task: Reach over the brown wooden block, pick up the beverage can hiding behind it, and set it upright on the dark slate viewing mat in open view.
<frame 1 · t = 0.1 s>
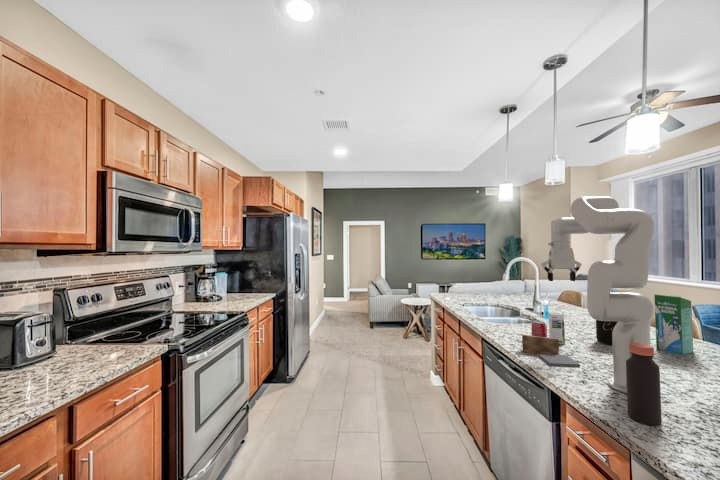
hand: (561, 280, 148), 31 cm above the worktop, tool pointing down, fingers open, 9 cm apart
syrup box: (557, 342, 154), on the worktop
bottle: (644, 420, 84), on the worktop
brown wooden block: (540, 352, 139), on the worktop
coffee jar: (610, 343, 152), on the worktop
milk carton: (674, 350, 140), on the worktop
beverage can: (539, 348, 146), on the worktop
viewing mat: (558, 361, 128), on the worktop
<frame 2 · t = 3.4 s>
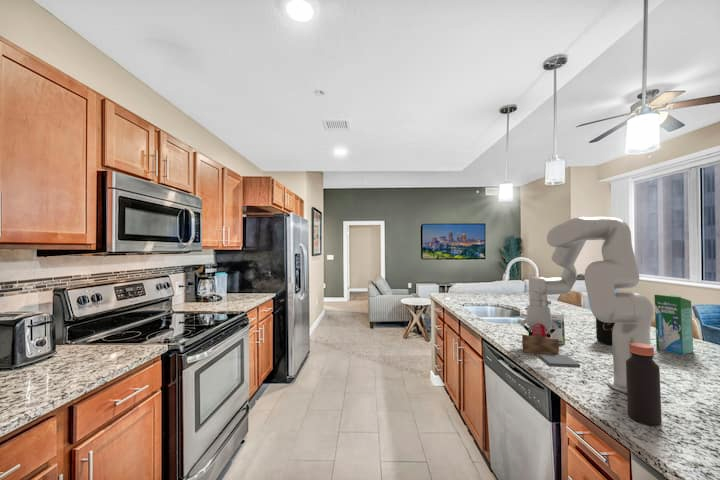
hand: (539, 341, 146), 3 cm above the worktop, tool pointing down, fingers closed on beverage can, 6 cm apart
beverage can: (539, 348, 146), on the worktop, touching gripper
everything else where it was.
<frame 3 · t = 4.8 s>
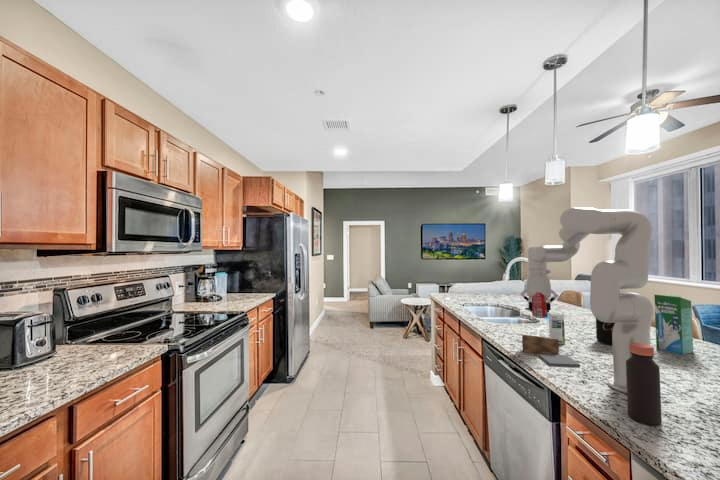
hand: (539, 310, 146), 17 cm above the worktop, tool pointing down, fingers closed on beverage can, 6 cm apart
beverage can: (539, 317, 146), point 14 cm above the worktop, touching gripper
everything else where it was.
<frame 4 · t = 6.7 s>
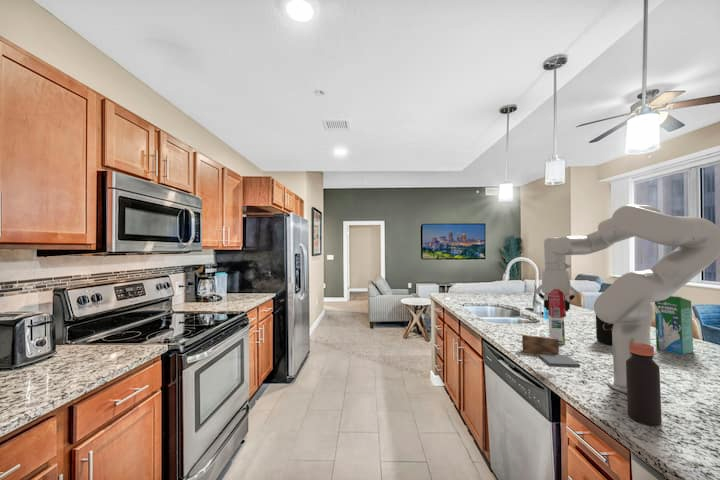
hand: (556, 310, 129), 21 cm above the worktop, tool pointing down, fingers closed on beverage can, 6 cm apart
beverage can: (556, 317, 128), point 18 cm above the worktop, touching gripper
everything else where it was.
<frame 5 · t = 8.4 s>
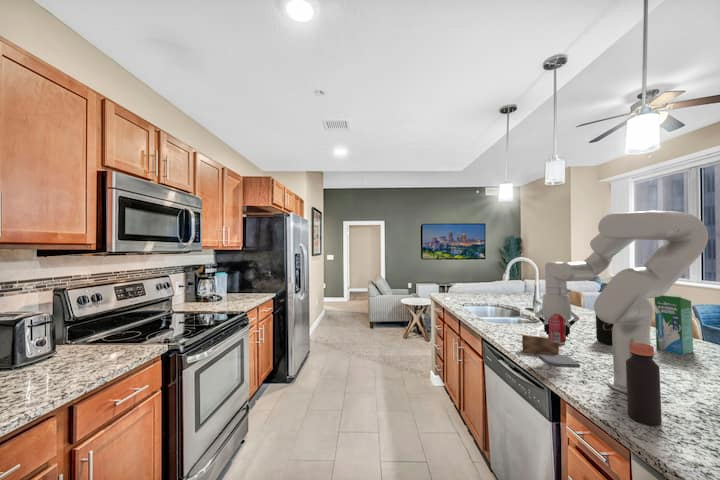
hand: (556, 334, 129), 11 cm above the worktop, tool pointing down, fingers closed on beverage can, 6 cm apart
beverage can: (557, 342, 128), point 8 cm above the worktop, touching gripper
everything else where it was.
when the fingers open (5 cm above the worktop, at t = 10.0 s): beverage can drops 1 cm, resting on viewing mat.
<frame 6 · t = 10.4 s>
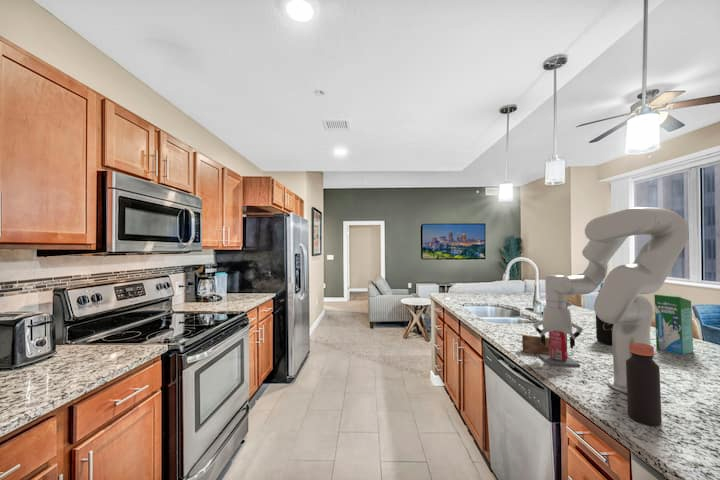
hand: (557, 346, 128), 6 cm above the worktop, tool pointing down, fingers open, 9 cm apart
beverage can: (558, 359, 128), point 1 cm above the worktop, touching viewing mat
everything else where it was.
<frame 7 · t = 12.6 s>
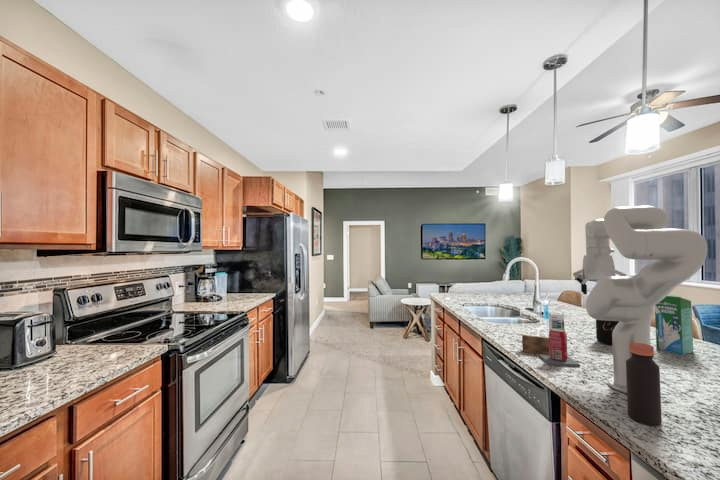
hand: (599, 294, 124), 28 cm above the worktop, tool pointing down, fingers open, 9 cm apart
nothing on the worktop moved.
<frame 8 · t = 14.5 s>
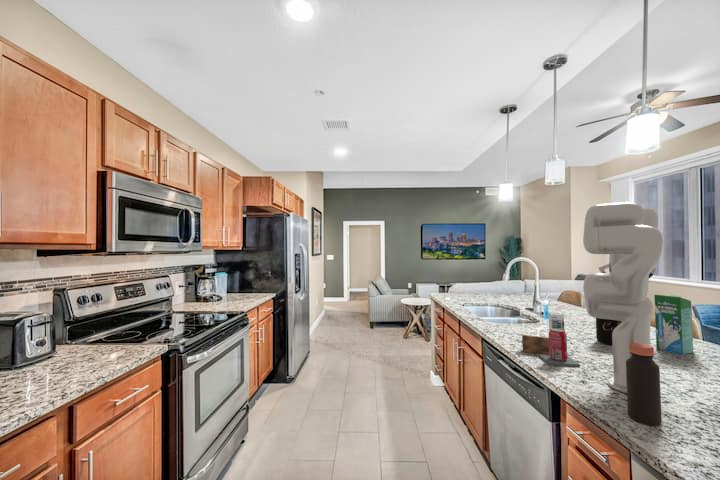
hand: (627, 289, 121), 30 cm above the worktop, tool pointing down, fingers open, 9 cm apart
nothing on the worktop moved.
at the end: beverage can inside the target area on the viewing mat (0.1 cm from its centre), point 0.8 cm above the viewing mat's base; beverage can tilted 0°; the gripper is holding nothing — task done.
